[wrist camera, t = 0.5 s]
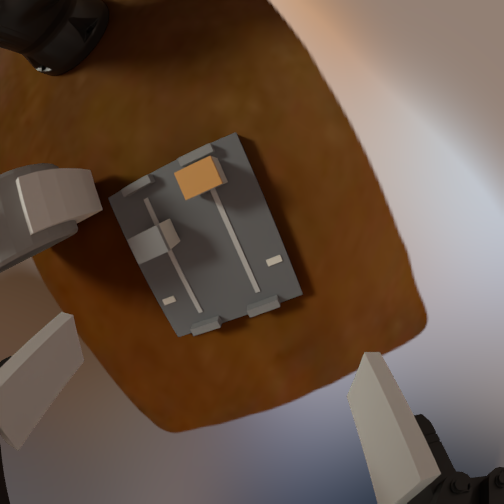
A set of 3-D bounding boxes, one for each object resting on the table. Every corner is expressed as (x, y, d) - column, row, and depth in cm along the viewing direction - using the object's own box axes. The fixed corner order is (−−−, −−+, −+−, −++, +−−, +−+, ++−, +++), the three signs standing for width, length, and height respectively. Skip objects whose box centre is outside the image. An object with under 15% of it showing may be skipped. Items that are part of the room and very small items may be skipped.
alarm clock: (42, 252, 37) (-46, 298, 17) (27, 205, 35) (-66, 233, 15) (120, 214, 35) (10, 257, 15) (102, 157, 33) (-14, 159, 13)
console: (115, 196, 34) (102, 199, 31) (237, 134, 32) (234, 130, 28) (181, 329, 39) (175, 342, 36) (300, 288, 36) (304, 299, 33)
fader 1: (142, 231, 33) (126, 240, 28) (169, 218, 32) (156, 225, 28) (153, 253, 33) (138, 264, 29) (180, 241, 33) (168, 251, 28)
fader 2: (185, 172, 31) (173, 173, 26) (217, 158, 30) (210, 155, 26) (196, 196, 31) (185, 200, 27) (227, 182, 31) (222, 183, 26)
